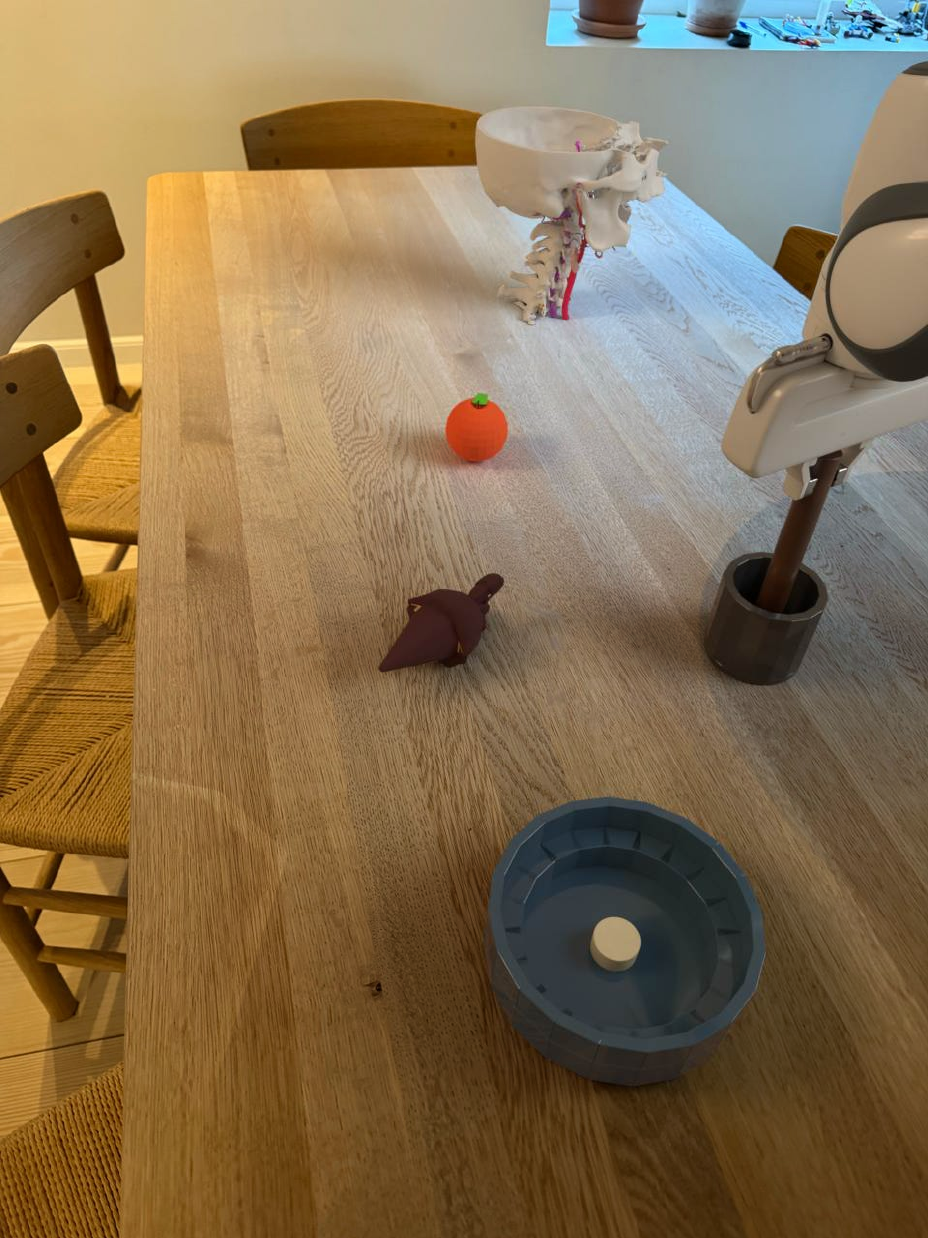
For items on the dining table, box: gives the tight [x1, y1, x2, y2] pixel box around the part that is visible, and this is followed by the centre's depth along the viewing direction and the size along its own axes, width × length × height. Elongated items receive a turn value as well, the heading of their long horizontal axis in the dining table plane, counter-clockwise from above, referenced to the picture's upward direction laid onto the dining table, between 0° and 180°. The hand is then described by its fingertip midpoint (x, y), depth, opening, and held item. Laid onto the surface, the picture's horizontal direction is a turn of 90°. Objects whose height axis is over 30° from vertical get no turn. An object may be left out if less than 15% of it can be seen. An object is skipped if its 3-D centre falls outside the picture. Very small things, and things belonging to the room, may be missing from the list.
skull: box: [474, 105, 669, 325], centre depth 129 cm, size 25×19×23 cm
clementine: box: [444, 392, 509, 462], centre depth 106 cm, size 8×7×7 cm
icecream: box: [377, 572, 505, 673], centre depth 83 cm, size 7×7×15 cm
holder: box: [703, 551, 829, 686], centre depth 85 cm, size 9×9×8 cm
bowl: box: [482, 796, 767, 1087], centre depth 63 cm, size 18×18×6 cm
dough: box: [590, 917, 641, 972], centre depth 64 cm, size 3×3×2 cm
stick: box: [755, 450, 843, 614], centre depth 79 cm, size 2×2×20 cm
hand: (813, 487), depth 75 cm, fingers closed on stick, 2 cm apart
